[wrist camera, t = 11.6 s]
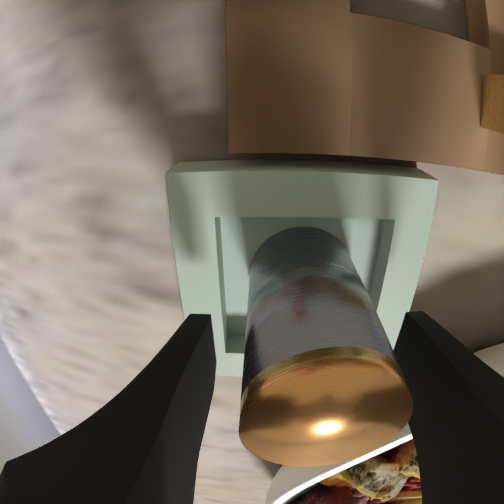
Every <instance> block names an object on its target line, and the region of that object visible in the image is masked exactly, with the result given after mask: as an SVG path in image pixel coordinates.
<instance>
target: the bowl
mask: <svg viewBox="0 0 504 504" xmlns="http://www.w3.org/2000/svg"><path fill="white" fill-rule="evenodd" d="M473 354H475V355H476V356H477V357H478V358H479V359H481V360H482V361H483V362H484V363H486V364H487V365H488V366H490V367H491V368H492V369H493V370H495V371H496V372H497V373H499V374H500V375H502V376H503V377H504V343H501V344H498V345H495V346H491V347H488V348H485V349H482V350H479V351H477V352H474V353H473ZM266 504H422V493H421V482H420V473H419V466H418V459H417V453H416V449H415V444H414V440H413V437H412V434H411V431H410V428H409V424H408V423H407V424H406V425H405V427H404V428H403V429H402V430H401V431H400V432H399V433H398V434H397V435H396V436H395V437H394V438H393V439H391V440H390V441H389V442H387V443H386V444H384V445H383V446H381V447H379V448H378V449H376V450H374V451H372V452H370V453H368V454H365V455H363V456H361V457H358V458H355V459H352V460H349V461H345V462H341V463H337V464H332V465H325V466H315V467H296V466H287V465H282V467H281V468H280V469H279V471H278V472H277V474H276V475H275V477H274V479H273V480H272V483H271V485H270V487H269V490H268V493H267V498H266Z"/></svg>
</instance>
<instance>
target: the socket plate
mask: <svg viewBox="0 0 504 504" xmlns="http://www.w3.org/2000/svg"><path fill="white" fill-rule="evenodd" d="M465 8H466V17H467V29H468V41H466V40H463V39H460V38H458V37H455V36H451V35H448V34H445V33H442V32H439V31H435V30H432V29H428V28H424V27H421V26H417V25H413V24H409V23H404V22H400V21H395V20H391V19H386V18H381V17H375V16H369V15H363V14H357V13H350V0H226V55H227V104H228V140H229V153H299V154H327V155H345V156H361V157H374V158H386V159H396V160H406V161H415V162H424V163H432V164H439V165H447V166H454V167H460V168H467V169H473V170H479V171H485V172H490V173H496V174H501V175H504V133H500V132H497V131H493V130H490V129H486V128H482V127H481V116H482V95H483V74H487V75H504V0H465Z"/></svg>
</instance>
